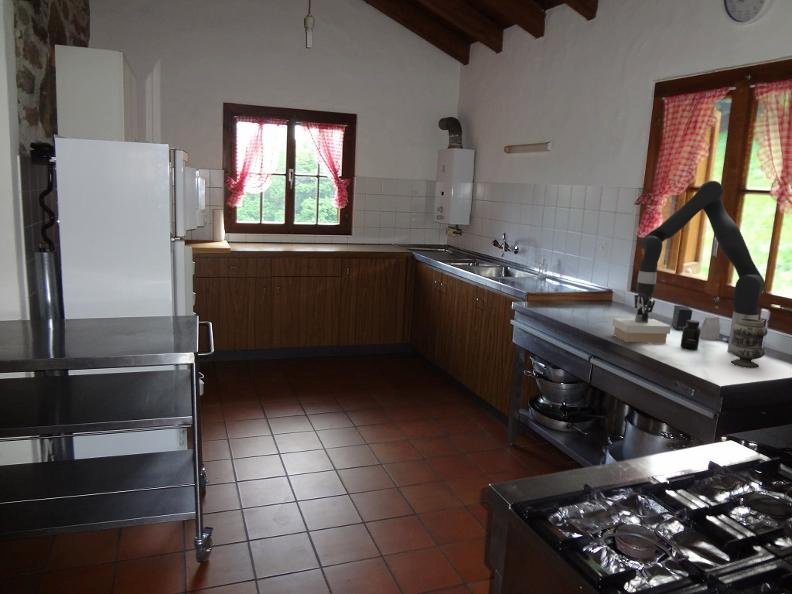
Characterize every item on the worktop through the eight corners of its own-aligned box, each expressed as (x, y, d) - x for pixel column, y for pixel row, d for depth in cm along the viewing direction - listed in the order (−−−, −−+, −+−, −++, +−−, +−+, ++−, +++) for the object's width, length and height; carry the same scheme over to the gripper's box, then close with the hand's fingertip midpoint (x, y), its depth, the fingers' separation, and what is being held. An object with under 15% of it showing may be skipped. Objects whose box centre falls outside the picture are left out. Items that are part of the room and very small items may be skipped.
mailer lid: (669, 333, 271) (671, 319, 270) (627, 332, 269) (628, 318, 268) (653, 326, 285) (655, 312, 283) (612, 325, 282) (614, 311, 281)
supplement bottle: (687, 350, 262) (691, 322, 259) (676, 346, 268) (680, 319, 266) (701, 350, 263) (705, 322, 261) (690, 346, 270) (693, 319, 268)
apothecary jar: (750, 361, 251) (757, 317, 247) (769, 370, 239) (776, 324, 236) (720, 359, 250) (727, 315, 247) (738, 368, 238) (745, 322, 235)
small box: (690, 331, 300) (693, 310, 298) (675, 330, 301) (678, 308, 299) (684, 326, 310) (687, 306, 308) (670, 325, 311) (673, 304, 309)
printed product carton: (718, 340, 285) (721, 318, 283) (705, 340, 284) (708, 318, 282) (712, 337, 288) (716, 316, 287) (700, 337, 287) (703, 316, 285)
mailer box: (665, 343, 273) (667, 327, 272) (626, 342, 270) (628, 326, 269) (651, 336, 284) (653, 321, 283) (613, 335, 282) (615, 320, 281)
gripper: (663, 284, 266) (658, 324, 269) (646, 279, 280) (641, 316, 283) (646, 284, 265) (641, 323, 268) (630, 278, 279) (626, 316, 282)
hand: (641, 319), depth 276 cm, fingers open, 4 cm apart
